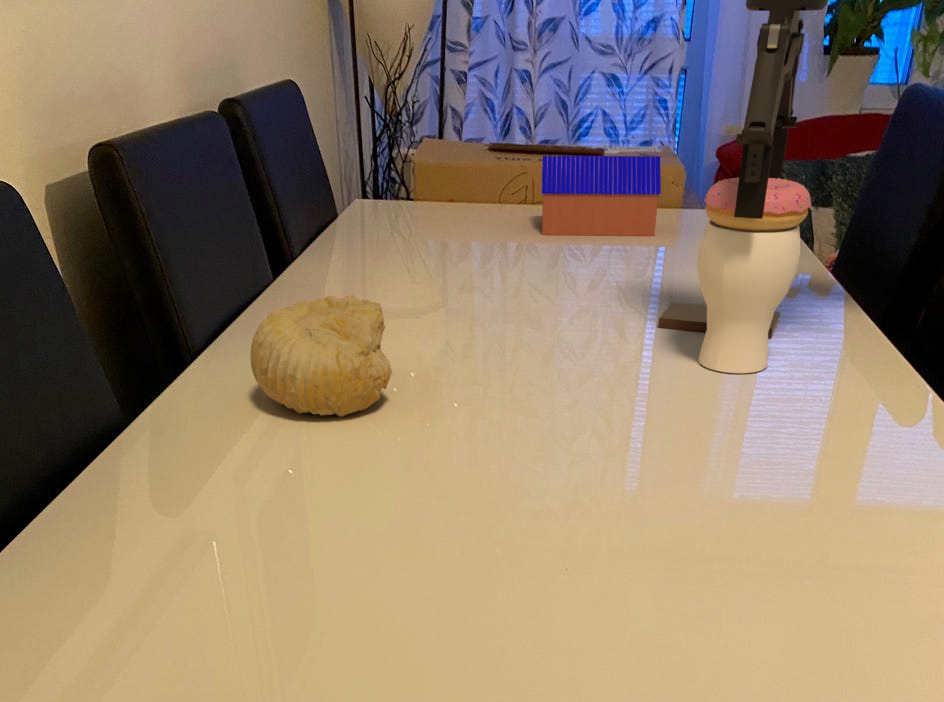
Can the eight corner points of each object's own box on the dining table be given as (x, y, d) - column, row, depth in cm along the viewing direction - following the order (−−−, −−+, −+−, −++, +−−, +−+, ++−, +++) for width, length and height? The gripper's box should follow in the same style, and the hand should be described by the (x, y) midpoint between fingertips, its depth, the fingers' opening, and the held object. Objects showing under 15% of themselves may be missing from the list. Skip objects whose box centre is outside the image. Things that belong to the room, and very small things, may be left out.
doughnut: (804, 215, 108) (812, 173, 106) (810, 236, 99) (818, 191, 97) (703, 211, 110) (708, 170, 108) (700, 231, 101) (705, 187, 99)
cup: (800, 366, 112) (826, 226, 104) (735, 385, 107) (757, 238, 99) (730, 343, 119) (749, 210, 111) (666, 359, 114) (681, 221, 106)
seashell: (237, 434, 103) (351, 429, 95) (203, 329, 98) (321, 314, 90) (331, 385, 115) (439, 377, 107) (306, 290, 110) (417, 273, 102)
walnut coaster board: (778, 321, 127) (780, 312, 126) (771, 339, 121) (772, 329, 120) (670, 311, 131) (671, 301, 131) (657, 327, 125) (658, 317, 124)
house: (540, 221, 181) (542, 150, 175) (650, 222, 180) (656, 151, 173) (540, 235, 171) (542, 161, 165) (656, 236, 170) (663, 161, 163)
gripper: (767, -37, 103) (738, 184, 115) (730, -42, 84) (700, 225, 95) (843, -39, 101) (805, 188, 112) (823, -44, 81) (780, 230, 93)
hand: (757, 205), depth 104 cm, fingers open, 13 cm apart
